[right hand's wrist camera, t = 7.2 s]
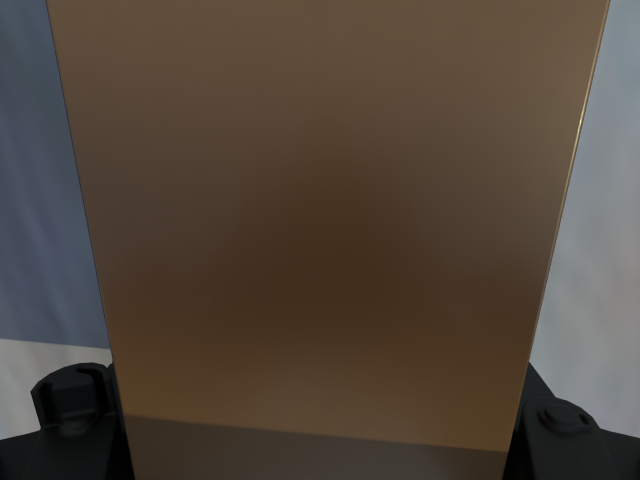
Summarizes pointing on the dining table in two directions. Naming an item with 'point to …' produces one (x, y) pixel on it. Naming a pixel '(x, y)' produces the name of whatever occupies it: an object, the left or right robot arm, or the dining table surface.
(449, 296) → the post
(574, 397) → the dining table surface
